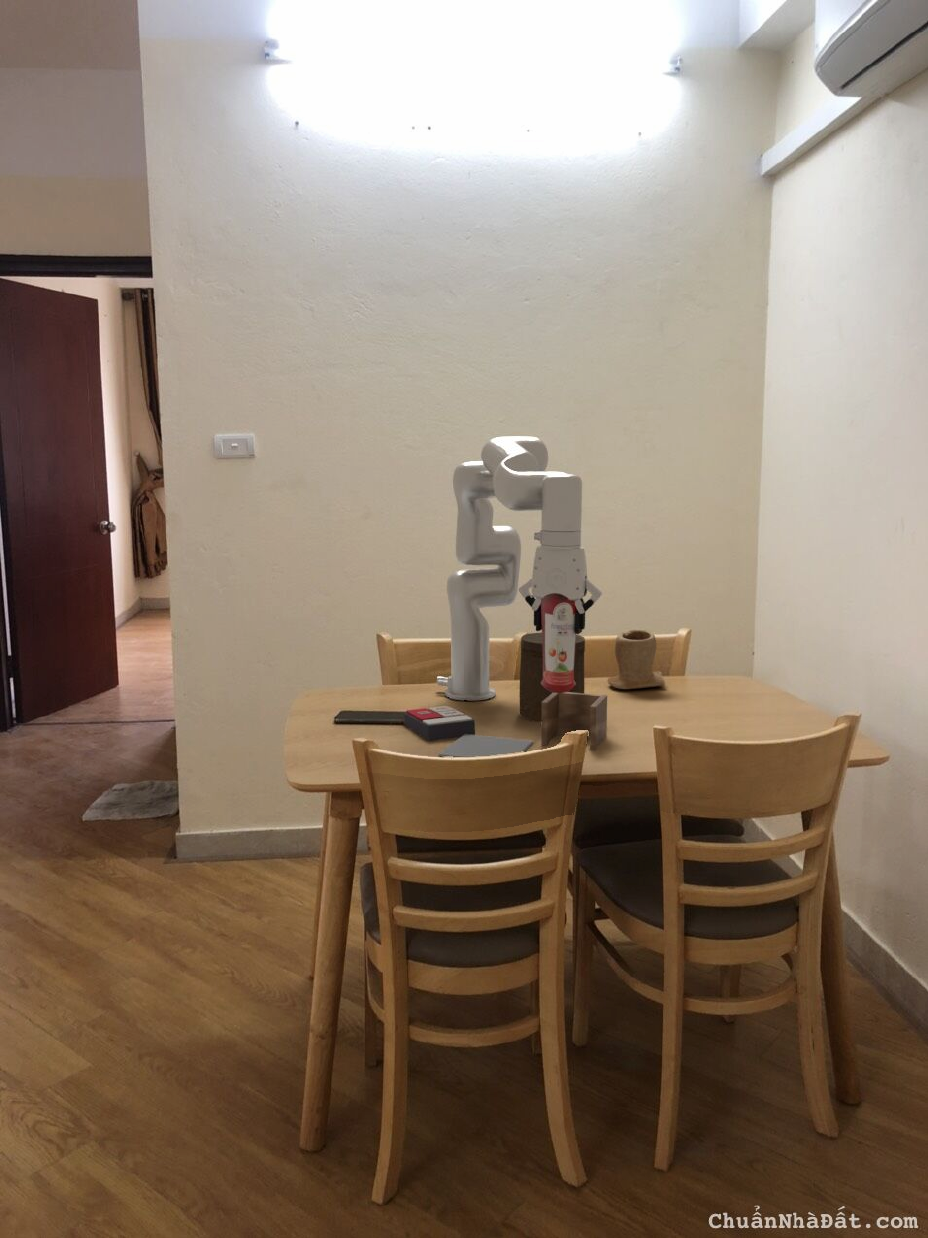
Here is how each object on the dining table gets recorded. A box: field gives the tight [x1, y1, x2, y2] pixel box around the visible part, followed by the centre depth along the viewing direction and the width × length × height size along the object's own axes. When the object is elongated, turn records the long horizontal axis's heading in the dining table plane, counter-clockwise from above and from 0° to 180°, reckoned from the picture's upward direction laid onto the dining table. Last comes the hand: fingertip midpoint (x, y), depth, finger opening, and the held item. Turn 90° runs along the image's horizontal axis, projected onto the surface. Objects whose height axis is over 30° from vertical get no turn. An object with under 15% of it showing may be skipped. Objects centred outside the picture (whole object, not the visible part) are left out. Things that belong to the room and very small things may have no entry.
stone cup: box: [606, 629, 666, 690], centre depth 246 cm, size 15×12×15 cm
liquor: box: [541, 593, 577, 693], centre depth 186 cm, size 7×7×28 cm
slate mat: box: [438, 734, 534, 757], centre depth 195 cm, size 15×15×1 cm
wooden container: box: [519, 631, 586, 723], centre depth 220 cm, size 15×15×22 cm
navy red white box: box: [403, 705, 476, 742], centre depth 210 cm, size 11×4×15 cm
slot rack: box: [540, 692, 608, 751], centre depth 201 cm, size 11×10×9 cm
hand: (559, 630), depth 186 cm, fingers closed on liquor, 7 cm apart
